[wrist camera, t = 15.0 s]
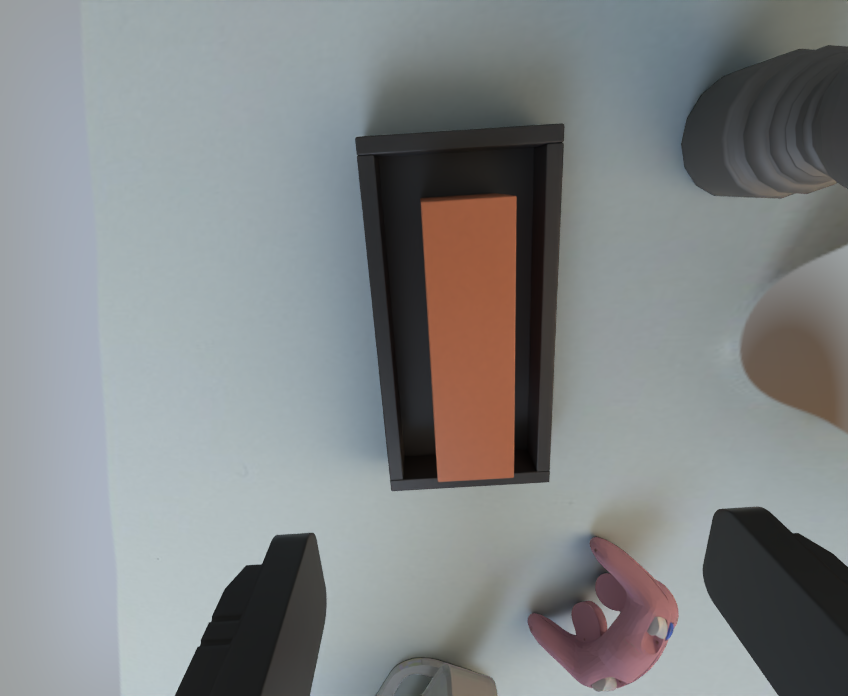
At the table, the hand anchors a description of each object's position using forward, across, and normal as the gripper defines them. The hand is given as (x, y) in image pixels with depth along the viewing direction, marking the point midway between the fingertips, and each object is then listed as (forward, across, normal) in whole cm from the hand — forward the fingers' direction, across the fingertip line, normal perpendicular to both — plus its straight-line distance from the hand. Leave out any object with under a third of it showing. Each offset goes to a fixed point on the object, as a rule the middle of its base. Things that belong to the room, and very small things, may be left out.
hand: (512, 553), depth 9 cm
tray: (+19, -1, +1) cm, 19 cm away
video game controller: (+18, -10, +23) cm, 31 cm away
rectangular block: (+18, -1, +1) cm, 18 cm away
